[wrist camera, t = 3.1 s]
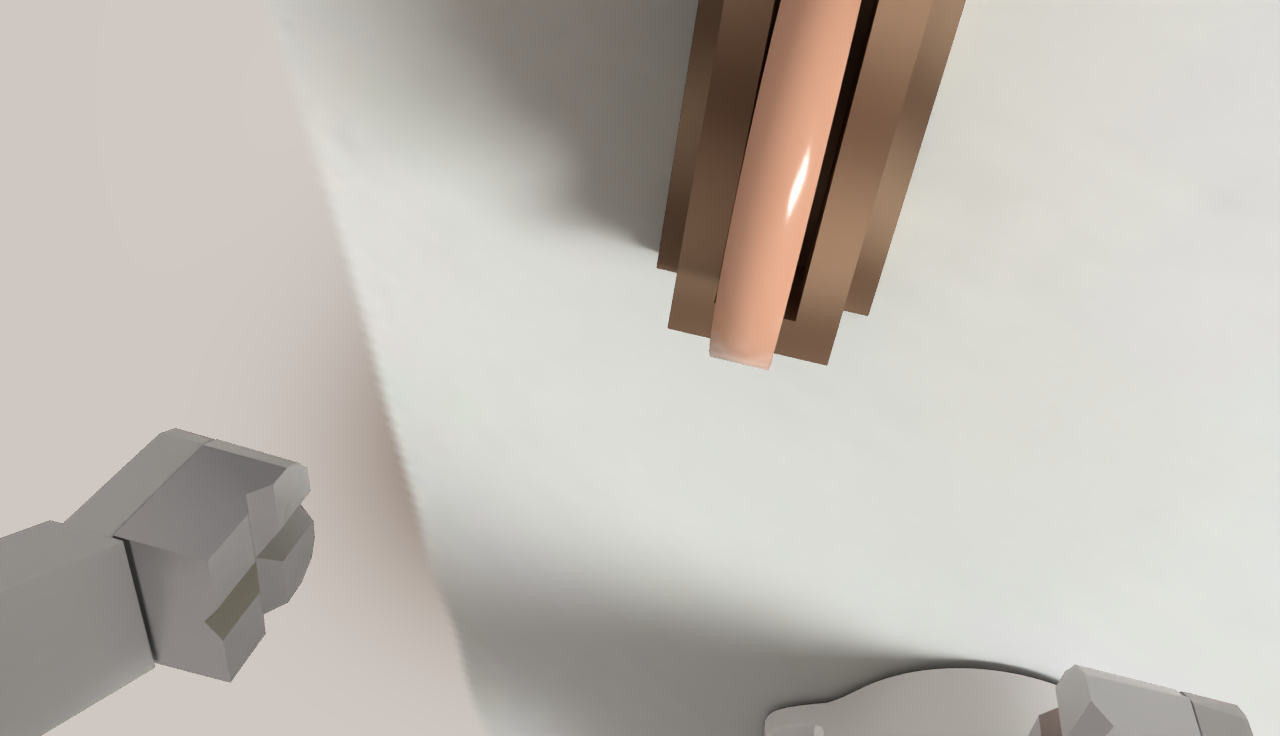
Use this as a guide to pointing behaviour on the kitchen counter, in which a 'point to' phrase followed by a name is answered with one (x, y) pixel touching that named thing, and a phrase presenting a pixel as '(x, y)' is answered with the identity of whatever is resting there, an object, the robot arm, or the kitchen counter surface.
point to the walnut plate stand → (850, 173)
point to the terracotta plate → (780, 175)
